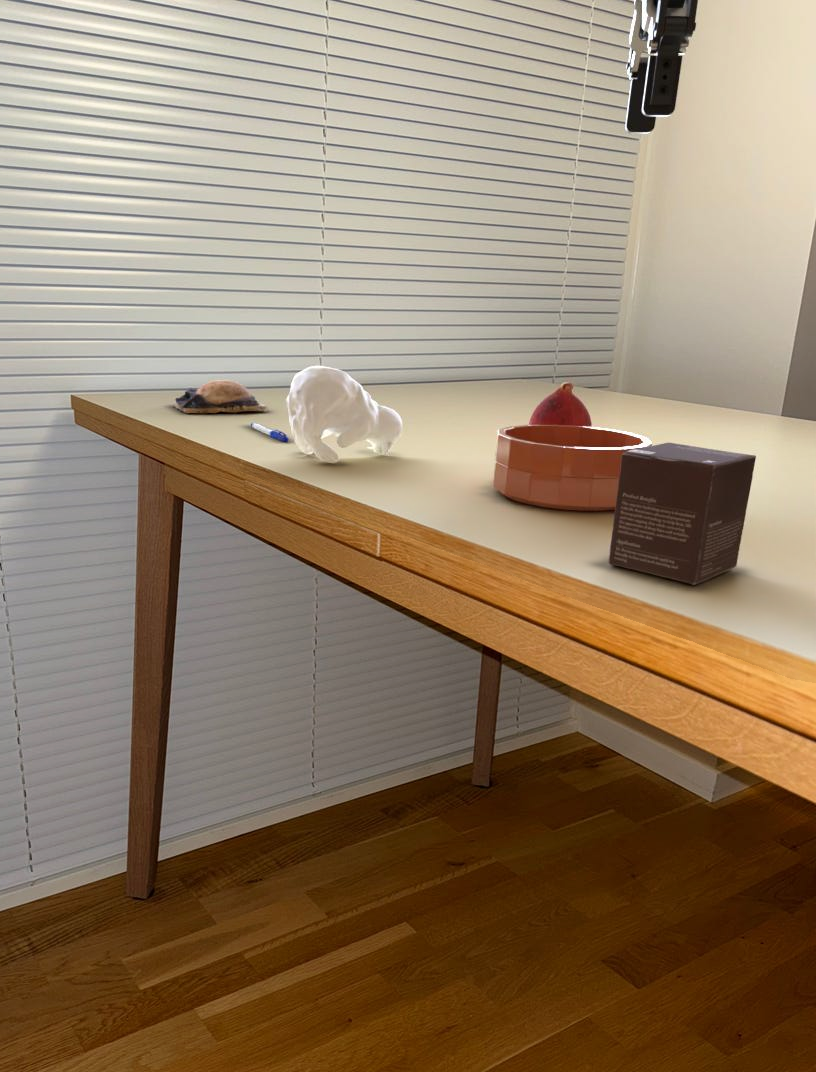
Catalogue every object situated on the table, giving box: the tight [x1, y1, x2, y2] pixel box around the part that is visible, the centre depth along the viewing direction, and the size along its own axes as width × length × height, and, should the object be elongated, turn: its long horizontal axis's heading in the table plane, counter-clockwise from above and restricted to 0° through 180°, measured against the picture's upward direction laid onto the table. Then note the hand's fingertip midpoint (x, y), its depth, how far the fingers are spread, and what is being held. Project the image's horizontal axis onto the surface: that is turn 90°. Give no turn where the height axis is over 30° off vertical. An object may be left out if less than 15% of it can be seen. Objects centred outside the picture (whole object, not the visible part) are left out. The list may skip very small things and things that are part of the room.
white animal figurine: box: [285, 365, 404, 464], centre depth 93 cm, size 6×8×12 cm
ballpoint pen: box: [250, 422, 289, 443], centre depth 105 cm, size 10×1×1 cm, turn 26°
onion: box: [528, 381, 593, 427], centre depth 91 cm, size 6×6×8 cm
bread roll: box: [173, 379, 268, 415], centre depth 122 cm, size 11×8×4 cm
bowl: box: [492, 424, 653, 512], centre depth 80 cm, size 12×12×5 cm
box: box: [608, 442, 757, 586], centre depth 60 cm, size 6×6×7 cm
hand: (647, 124), depth 73 cm, fingers open, 8 cm apart
